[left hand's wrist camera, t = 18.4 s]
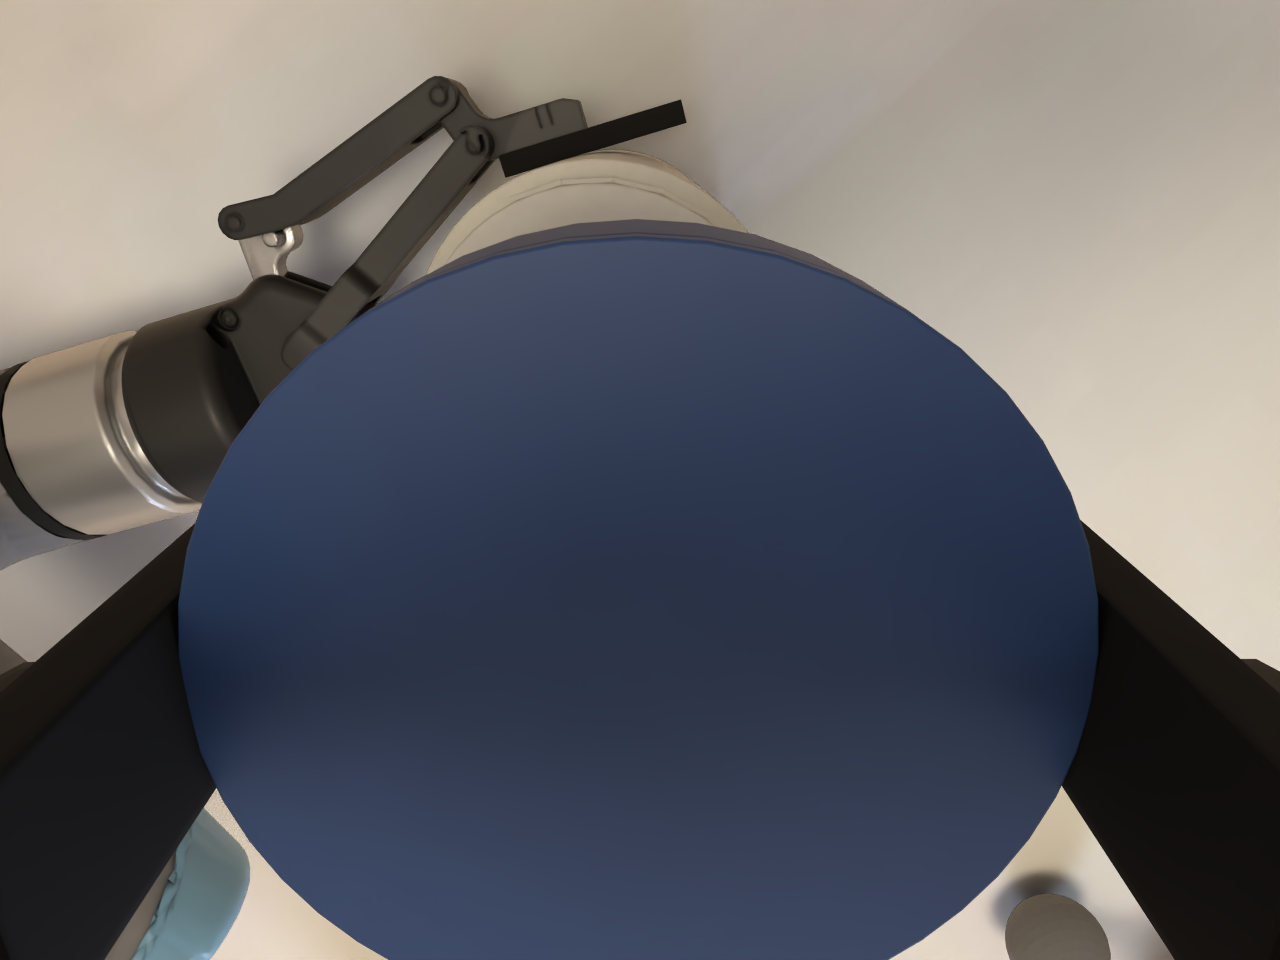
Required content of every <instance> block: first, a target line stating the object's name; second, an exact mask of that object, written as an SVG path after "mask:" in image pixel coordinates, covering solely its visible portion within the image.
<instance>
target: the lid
mask: <svg viewBox="0 0 1280 960" xmlns="http://www.w3.org/2000/svg"><path fill="white" fill-rule="evenodd" d="M1098 655H1099V631H1098V596H1097V590H1096V585H1095V579H1094V573H1093V567H1092V561H1091V555H1090V550H1089V545H1088V542H1087V539H1086V536H1085V533H1084V530H1083V527H1082V524H1081V521H1080V518H1079V516H1078V513H1077V510H1076V507H1075V504H1074V501H1073V498H1072V495H1071V492H1070V490H1069V489H1068V487H1067V485H1066V483H1065V481H1064V479H1063V477H1062V475H1061V474H1060V472H1059V470H1058V468H1057V466H1056V464H1055V462H1054V460H1053V459H1052V457H1051V455H1050V453H1049V451H1048V449H1047V447H1046V445H1045V444H1044V442H1043V440H1042V439H1041V438H1040V436H1039V435H1038V434H1037V432H1036V431H1035V430H1034V428H1033V427H1032V426H1031V424H1030V423H1029V422H1028V420H1027V419H1026V418H1025V416H1024V415H1023V414H1022V412H1021V411H1020V410H1019V408H1018V407H1017V406H1016V405H1015V403H1014V402H1013V401H1012V399H1011V398H1010V397H1009V395H1008V394H1007V393H1006V392H1005V391H1004V390H1003V389H1002V388H1001V387H1000V386H999V385H998V384H997V383H996V382H995V381H994V380H993V379H992V378H991V377H990V376H989V375H988V374H987V373H986V372H985V371H984V370H983V369H982V368H981V367H980V366H979V365H978V364H977V363H975V362H974V361H973V360H972V359H971V358H970V357H969V356H968V355H967V354H966V353H965V352H964V351H963V350H962V349H961V348H960V347H958V346H957V345H956V344H954V343H953V342H951V341H950V340H949V339H947V338H946V337H944V336H943V335H942V334H940V333H939V332H937V331H936V330H935V329H933V328H932V327H930V326H929V325H928V324H926V323H925V322H923V321H922V320H921V319H919V318H918V317H916V316H915V315H914V314H912V313H911V312H909V311H908V310H907V309H905V308H903V307H902V306H900V305H899V304H897V303H896V302H894V301H893V300H891V299H890V298H888V297H886V296H885V295H883V294H882V293H880V292H879V291H877V290H876V289H874V288H872V287H871V286H869V285H868V284H866V283H865V282H863V281H862V280H860V279H858V278H856V277H854V276H852V275H850V274H848V273H846V272H844V271H842V270H840V269H838V268H836V267H835V266H833V265H831V264H829V263H827V262H825V261H823V260H821V259H819V258H817V257H815V256H813V255H811V254H809V253H806V252H803V251H800V250H797V249H795V248H792V247H789V246H786V245H783V244H780V243H777V242H775V241H772V240H769V239H766V238H763V237H760V236H758V235H754V234H749V233H744V232H739V231H734V230H730V229H725V228H720V227H715V226H710V225H705V224H700V223H692V222H676V221H660V220H644V219H630V220H616V221H602V222H588V223H576V224H571V225H566V226H562V227H557V228H552V229H547V230H543V231H538V232H533V233H529V234H524V235H519V236H516V237H513V238H510V239H508V240H505V241H502V242H499V243H496V244H494V245H491V246H488V247H485V248H483V249H480V250H477V251H474V252H472V253H469V254H466V255H463V256H461V257H459V258H457V259H456V260H454V261H452V262H450V263H448V264H446V265H444V266H442V267H440V268H439V269H437V270H435V271H433V272H431V273H429V274H427V275H425V276H423V277H422V278H420V279H418V280H416V281H414V282H412V283H411V284H409V285H407V286H406V287H404V288H403V289H401V290H400V291H398V292H396V293H395V294H393V295H392V296H390V297H389V298H387V299H385V300H384V301H382V302H381V303H379V304H378V305H376V306H375V307H373V308H371V309H370V310H368V311H367V312H365V313H364V314H362V315H361V316H360V317H358V318H357V319H356V320H354V321H353V322H351V323H350V324H349V325H347V326H346V327H345V328H343V329H342V330H341V331H339V332H338V333H336V334H335V335H334V336H332V337H331V338H330V339H328V340H327V341H325V342H324V343H323V344H321V345H320V346H319V347H317V348H316V349H315V350H313V351H312V352H311V353H310V354H309V355H308V356H307V357H306V358H305V359H304V360H303V361H302V362H301V363H300V364H299V365H298V366H297V367H296V368H295V369H294V370H293V371H292V372H291V373H290V374H289V375H288V376H287V377H286V378H285V379H284V380H283V381H282V382H281V383H280V384H279V385H278V386H277V387H276V388H275V389H274V390H273V391H272V392H271V393H270V394H269V395H268V396H267V397H266V398H265V399H264V401H263V402H262V404H261V405H260V406H259V408H258V409H257V410H256V412H255V413H254V414H253V416H252V417H251V418H250V420H249V421H248V423H247V424H246V425H245V427H244V428H243V429H242V431H241V432H240V433H239V435H238V436H237V437H236V439H235V440H234V442H233V443H232V444H231V446H230V448H229V450H228V452H227V454H226V456H225V458H224V459H223V461H222V463H221V465H220V467H219V469H218V471H217V473H216V475H215V477H214V479H213V481H212V483H211V485H210V486H209V488H208V490H207V492H206V494H205V496H204V499H203V502H202V505H201V508H200V511H199V514H198V517H197V520H196V523H195V526H194V529H193V532H192V536H191V539H190V542H189V545H188V548H187V552H186V558H185V565H184V571H183V577H182V584H181V590H180V596H179V602H178V657H179V662H180V666H181V671H182V676H183V681H184V685H185V690H186V695H187V699H188V704H189V708H190V712H191V717H192V721H193V725H194V729H195V733H196V737H197V741H198V745H199V749H200V753H201V756H202V758H203V760H204V762H205V764H206V766H207V768H208V770H209V773H210V775H211V777H212V779H213V781H214V783H215V785H216V787H217V789H218V791H219V794H220V796H221V798H222V800H223V801H224V803H225V804H226V806H227V808H228V809H229V811H230V812H231V814H232V815H233V817H234V818H235V820H236V821H237V823H238V824H239V826H240V827H241V829H242V831H243V832H244V834H245V835H246V837H247V838H248V840H249V841H250V842H251V844H252V845H253V846H254V847H255V848H256V850H257V851H258V852H259V853H260V854H261V855H262V857H263V858H264V859H265V860H266V861H267V862H268V864H269V865H270V866H271V867H272V868H273V869H274V871H275V872H276V873H277V874H278V875H279V877H280V878H281V879H282V880H283V881H284V882H285V883H286V884H288V885H289V886H290V887H291V888H292V889H293V890H294V891H295V892H296V893H297V894H298V895H299V896H300V897H302V898H303V899H304V900H305V901H306V902H307V903H308V904H309V905H310V906H311V907H312V908H313V909H315V910H316V911H317V912H318V913H319V914H320V915H322V916H323V917H325V918H326V919H327V920H329V921H330V922H331V923H333V924H334V925H335V926H337V927H338V928H340V929H341V930H342V931H344V932H345V933H346V934H348V935H349V936H350V937H352V938H353V939H355V940H356V941H357V942H359V943H361V944H362V945H364V946H366V947H367V948H369V949H371V950H373V951H374V952H376V953H378V954H380V955H381V956H383V957H385V958H386V959H388V960H889V959H891V958H892V957H894V956H896V955H898V954H899V953H901V952H903V951H904V950H906V949H908V948H909V947H911V946H913V945H914V944H916V943H918V942H920V941H921V940H923V939H924V938H925V937H927V936H928V935H929V934H931V933H932V932H934V931H935V930H936V929H938V928H939V927H940V926H942V925H943V924H944V923H946V922H947V921H948V920H950V919H951V918H952V917H954V916H955V915H956V914H958V913H959V912H960V911H962V910H963V909H964V908H965V907H966V906H967V905H968V904H969V903H970V902H971V901H972V900H973V899H974V898H975V897H977V896H978V895H979V894H980V893H981V892H982V891H983V890H984V889H985V888H986V887H987V886H988V885H989V884H990V883H991V882H992V881H994V880H995V879H996V878H997V877H998V876H999V874H1000V873H1001V872H1002V871H1003V870H1004V868H1005V867H1006V866H1007V865H1008V864H1009V862H1010V861H1011V860H1012V859H1013V858H1014V856H1015V855H1016V854H1017V853H1018V852H1019V851H1020V849H1021V848H1022V847H1023V846H1024V845H1025V843H1026V842H1027V841H1028V840H1029V838H1030V837H1031V835H1032V834H1033V832H1034V831H1035V829H1036V828H1037V826H1038V824H1039V823H1040V821H1041V820H1042V818H1043V817H1044V815H1045V813H1046V812H1047V810H1048V809H1049V807H1050V806H1051V804H1052V802H1053V801H1054V799H1055V798H1056V796H1057V794H1058V792H1059V789H1060V787H1061V785H1062V783H1063V781H1064V779H1065V777H1066V774H1067V772H1068V770H1069V768H1070V766H1071V764H1072V761H1073V759H1074V757H1075V755H1076V753H1077V750H1078V747H1079V743H1080V740H1081V737H1082V733H1083V730H1084V727H1085V723H1086V719H1087V715H1088V711H1089V707H1090V703H1091V698H1092V693H1093V688H1094V682H1095V675H1096V668H1097V662H1098Z"/></svg>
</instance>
